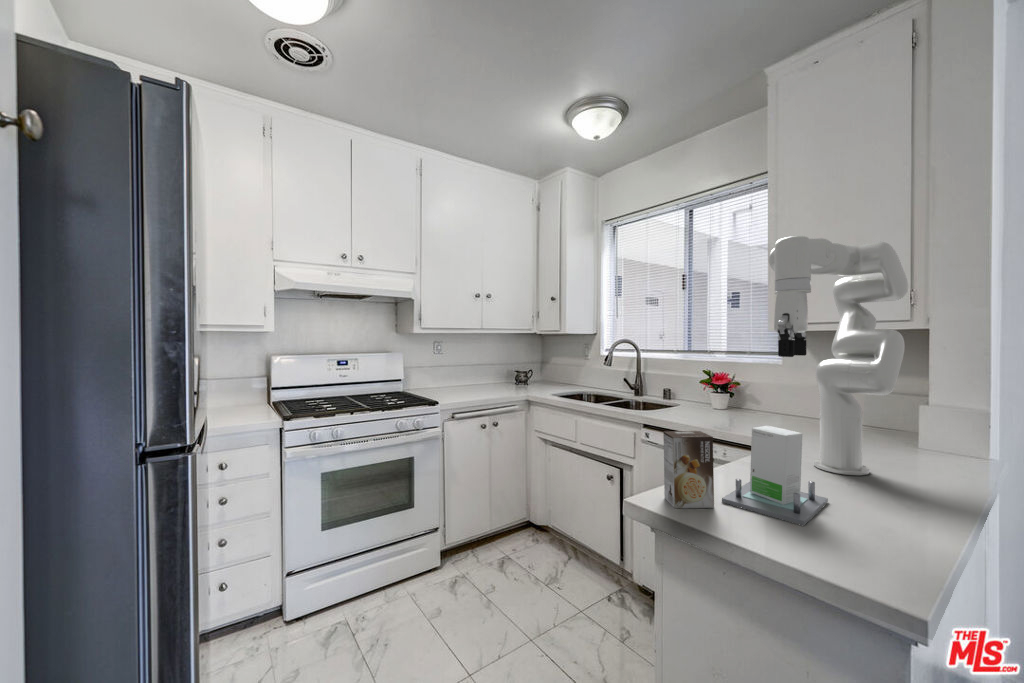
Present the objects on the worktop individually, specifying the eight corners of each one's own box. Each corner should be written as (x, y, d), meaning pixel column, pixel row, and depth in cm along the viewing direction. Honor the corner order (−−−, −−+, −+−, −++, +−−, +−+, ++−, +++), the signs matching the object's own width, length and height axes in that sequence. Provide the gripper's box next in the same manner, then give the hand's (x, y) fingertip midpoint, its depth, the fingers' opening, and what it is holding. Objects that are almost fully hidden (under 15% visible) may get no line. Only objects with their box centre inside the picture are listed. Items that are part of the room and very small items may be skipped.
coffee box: (701, 497, 99) (701, 430, 99) (714, 508, 92) (714, 436, 92) (663, 497, 99) (662, 430, 99) (673, 509, 92) (673, 437, 92)
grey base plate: (752, 484, 107) (751, 479, 107) (827, 502, 95) (827, 497, 95) (721, 502, 96) (721, 497, 96) (803, 526, 83) (803, 520, 83)
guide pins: (754, 484, 104) (754, 468, 104) (815, 499, 94) (815, 482, 94) (734, 496, 96) (734, 479, 96) (799, 514, 87) (799, 495, 87)
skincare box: (749, 493, 98) (748, 427, 98) (766, 488, 101) (766, 424, 101) (785, 506, 90) (785, 434, 90) (803, 500, 93) (803, 431, 93)
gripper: (786, 291, 112) (786, 354, 112) (763, 286, 101) (763, 356, 101) (820, 288, 106) (820, 355, 106) (799, 283, 95) (799, 357, 95)
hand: (792, 356), depth 104 cm, fingers open, 9 cm apart
